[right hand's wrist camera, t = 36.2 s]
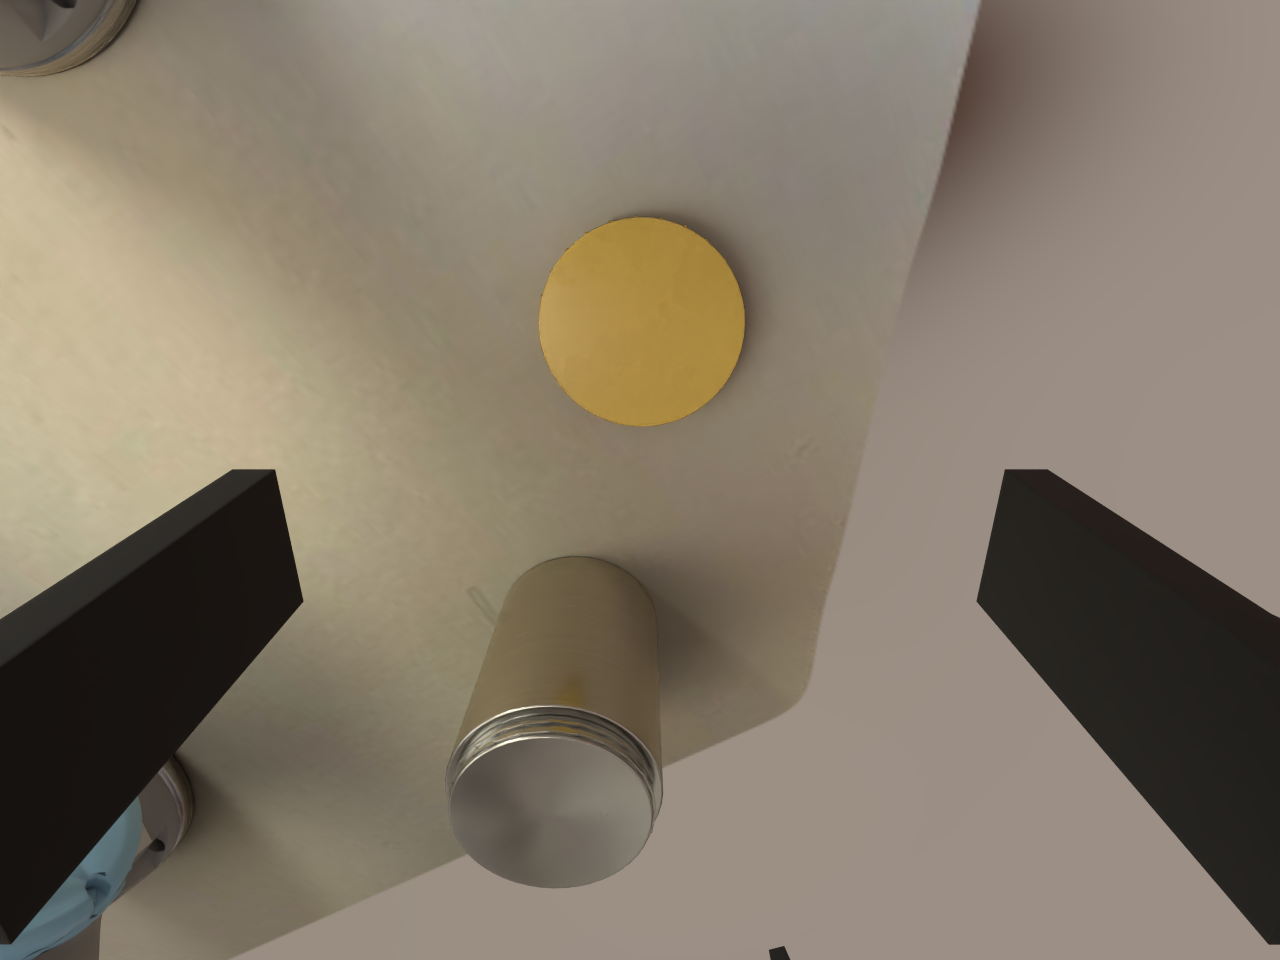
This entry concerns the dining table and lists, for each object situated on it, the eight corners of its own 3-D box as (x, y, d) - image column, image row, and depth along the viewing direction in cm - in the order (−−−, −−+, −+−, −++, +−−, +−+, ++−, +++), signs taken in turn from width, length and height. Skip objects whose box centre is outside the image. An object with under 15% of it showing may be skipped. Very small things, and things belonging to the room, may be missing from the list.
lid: (711, 186, 34) (715, 185, 32) (762, 387, 38) (767, 395, 36) (511, 253, 35) (506, 255, 34) (580, 442, 39) (578, 451, 37)
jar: (686, 638, 44) (708, 835, 30) (566, 711, 46) (535, 925, 32) (592, 527, 41) (569, 688, 27) (468, 610, 43) (388, 798, 29)
